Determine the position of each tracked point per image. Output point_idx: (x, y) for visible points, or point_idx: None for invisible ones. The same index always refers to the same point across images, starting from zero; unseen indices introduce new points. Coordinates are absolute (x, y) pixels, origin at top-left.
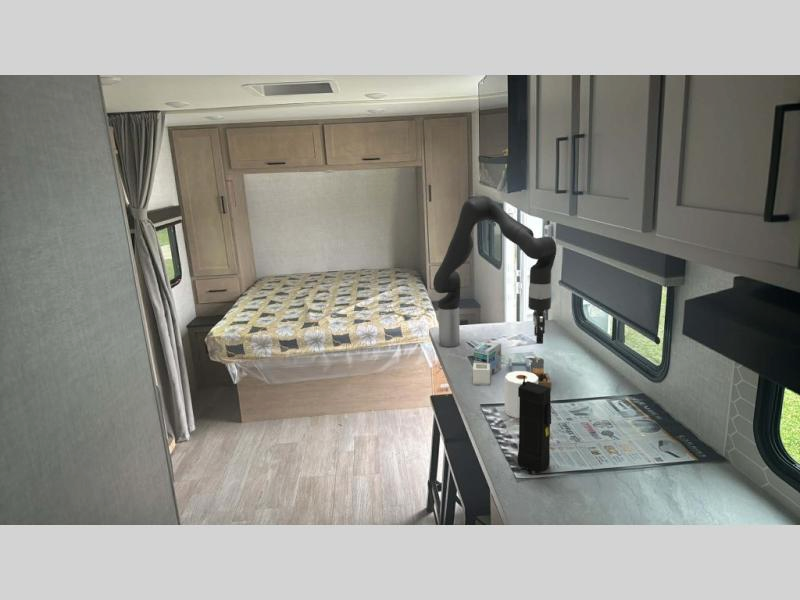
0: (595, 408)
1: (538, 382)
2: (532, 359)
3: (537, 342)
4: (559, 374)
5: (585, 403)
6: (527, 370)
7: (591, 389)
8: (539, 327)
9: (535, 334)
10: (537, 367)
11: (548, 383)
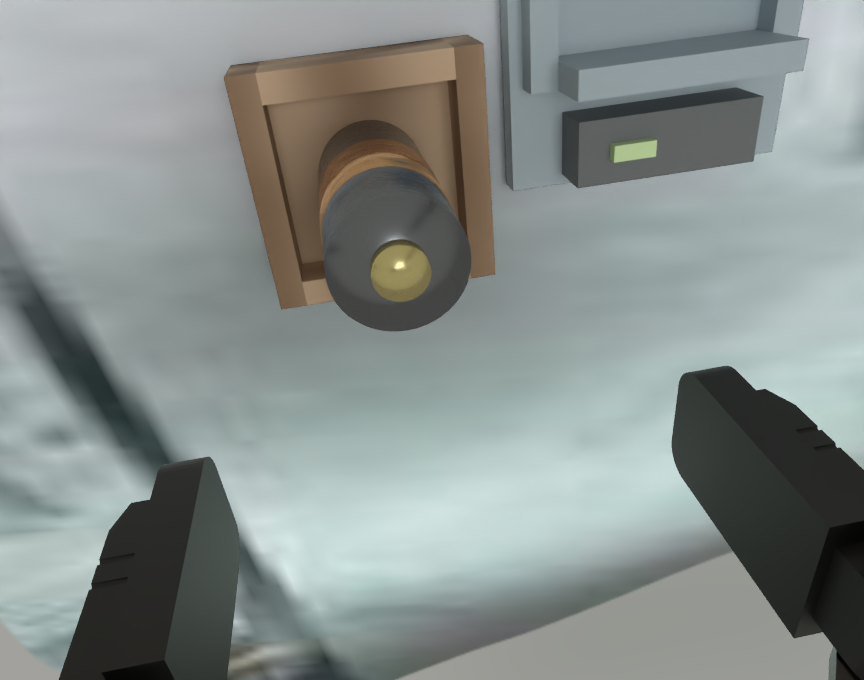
0: (61, 548)
1: (255, 203)
2: (399, 197)
3: (161, 489)
4: (596, 321)
5: (114, 498)
6: (562, 69)
7: (358, 510)
8: (773, 579)
9: (694, 392)
10: (321, 237)
11: (277, 286)
